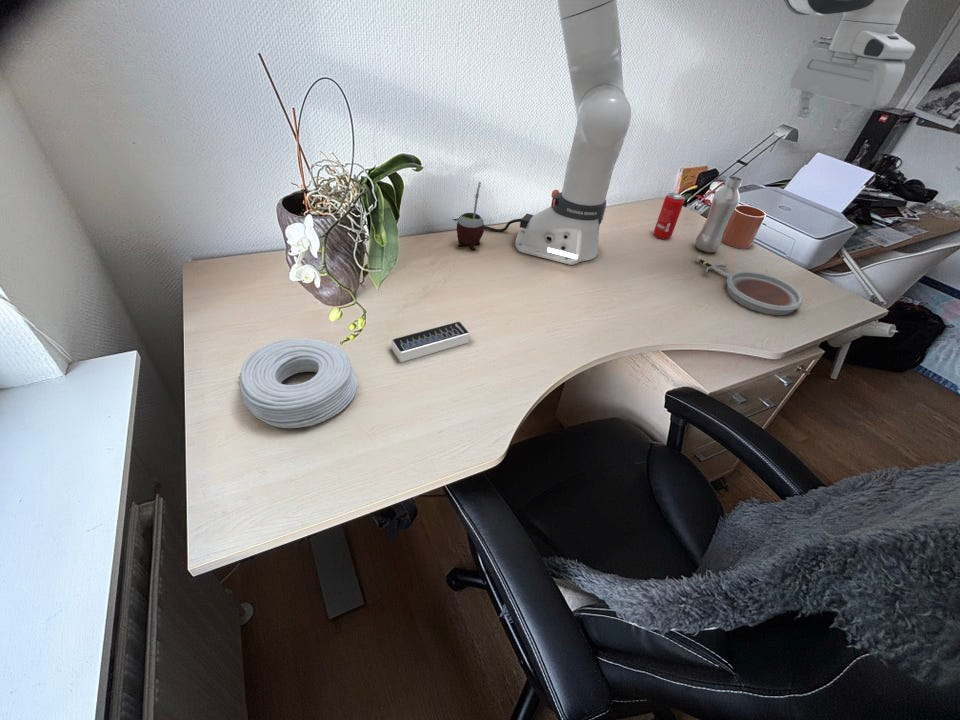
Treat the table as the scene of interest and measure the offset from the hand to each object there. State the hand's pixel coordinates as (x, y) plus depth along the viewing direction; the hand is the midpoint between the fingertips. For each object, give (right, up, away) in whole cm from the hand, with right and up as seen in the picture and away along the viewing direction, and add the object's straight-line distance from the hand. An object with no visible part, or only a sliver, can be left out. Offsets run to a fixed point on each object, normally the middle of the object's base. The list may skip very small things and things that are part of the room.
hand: (819, 123), depth 94 cm
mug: (+5, -13, +43) cm, 45 cm away
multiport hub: (-79, -46, -5) cm, 92 cm away
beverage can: (-16, -12, +42) cm, 46 cm away
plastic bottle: (-6, -17, +37) cm, 41 cm away
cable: (-99, -54, -17) cm, 114 cm away
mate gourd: (-73, -18, +28) cm, 80 cm away
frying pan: (-4, -30, +22) cm, 37 cm away
